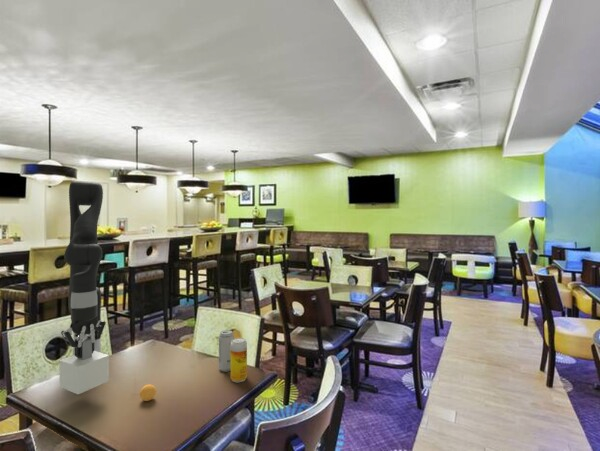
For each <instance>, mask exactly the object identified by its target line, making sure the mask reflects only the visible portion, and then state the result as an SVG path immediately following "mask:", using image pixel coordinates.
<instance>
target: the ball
mask: <svg viewBox="0 0 600 451" xmlns="http://www.w3.org/2000/svg"><path fill="white" fill-rule="evenodd" d="M156 394H157V389H156V387H155V386H154V385H153V384H146V385H144V386H143V387H141V389H140V391H139V397H140V399H141V400H142V401H145V402H149V401H152V400H153V399H154V398H155V396H156Z"/></svg>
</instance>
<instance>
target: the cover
mask: <svg viewBox="0 0 600 451" xmlns="http://www.w3.org/2000/svg"><path fill="white" fill-rule="evenodd" d="M81 347H82V358H77V357H76V356H75V355H73V354H72V355H70V356H68V357H65V358H62V359H59V388H62V389H64V390H66V391H68V392H71V393H73V394H76V395H80V394H83V393H85V392H87V391H90V390H92V389H94V388H96V387H98V386H100V385H103V384H105V383H107V382H109V381H110V355H109V354H106V353H104V352H101V353H100V352H97V351H94V352H93V354H92V339H89V338H84V339H83V340H82V345H81Z"/></svg>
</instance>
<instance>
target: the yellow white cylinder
mask: <svg viewBox="0 0 600 451" xmlns="http://www.w3.org/2000/svg"><path fill="white" fill-rule="evenodd" d="M247 377H248V342H247V340H246V338H244V337H234V339H232V342H231V371H230V380H231V381H232V382H233V383H243V382H245V381H246V379H247Z"/></svg>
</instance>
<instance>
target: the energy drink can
mask: <svg viewBox="0 0 600 451" xmlns="http://www.w3.org/2000/svg"><path fill="white" fill-rule="evenodd" d="M232 339H235V335H234V334H233V330H228V329H226V330H222V331H220V333H219V336H218V368H219V370H220V372H225V373H227V372H231V342H232Z"/></svg>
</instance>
